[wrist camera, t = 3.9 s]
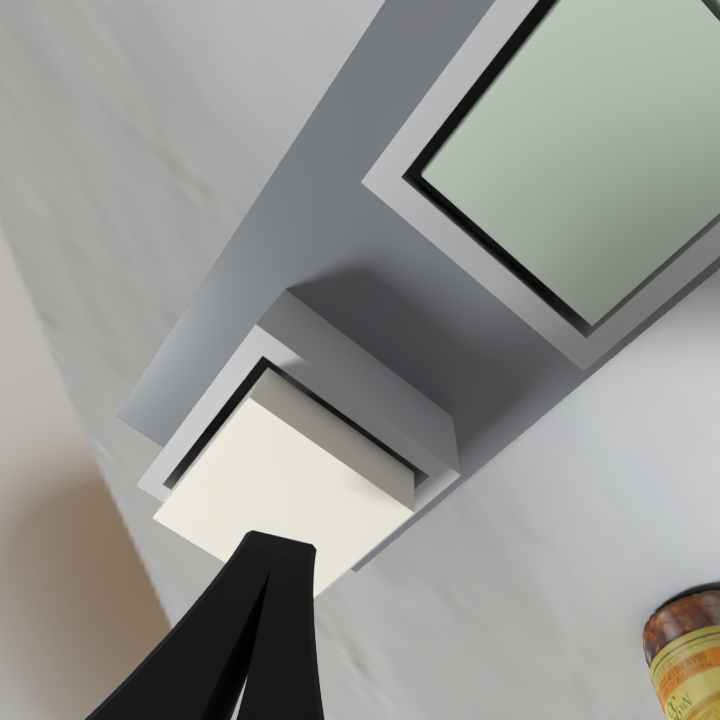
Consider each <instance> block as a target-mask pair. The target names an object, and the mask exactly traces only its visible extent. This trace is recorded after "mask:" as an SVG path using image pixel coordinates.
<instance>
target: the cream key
mask: <svg viewBox="0 0 720 720" xmlns="http://www.w3.org/2000/svg"><path fill="white" fill-rule="evenodd" d="M413 513H414V472H413V471H412V470H410V469H409V468H408V467H406V466H405V465H403V464H402V463H401V462H399V461H398V460H396V459H395V458H394V457H392V456H391V455H389V454H388V453H387V452H385V451H384V450H383V449H381V448H380V447H378V446H377V445H376V444H374V443H373V442H371V441H370V440H369V439H367V438H366V437H364V436H363V435H362V434H360V433H359V432H358V431H356V430H355V429H353V428H352V427H351V426H349V425H348V424H346V423H345V422H344V421H342V420H341V419H340V418H338V417H337V416H335V415H334V414H333V413H331V412H330V411H328V410H327V409H326V408H324V407H323V406H321V405H320V404H319V403H317V402H316V401H315V400H313V399H312V398H310V397H309V396H308V395H306V394H305V393H303V392H302V391H301V390H299V389H298V388H296V387H295V386H294V385H292V384H291V383H290V382H288V381H287V380H285V379H284V378H283V377H281V376H280V375H278V374H277V373H276V372H274V371H273V370H272V369H270V368H269V367H268V368H267V369H266V370H265V372H264V373H263V374H262V375H261V377H260V378H259V379H258V380H257V382H256V383H255V384H254V386H253V387H252V388H251V389H250V391H249V392H248V393H247V394H246V396H245V397H244V398H243V399H242V401H241V402H240V403H239V404H238V406H237V407H236V408H235V409H234V411H233V412H232V413H231V414H230V416H229V417H228V418H227V420H226V421H225V422H224V423H223V425H222V426H221V427H220V428H219V430H218V431H217V432H216V433H215V435H214V436H213V437H212V438H211V440H210V441H209V442H208V443H207V445H206V446H205V447H204V448H203V450H202V451H201V452H200V454H199V455H198V456H197V457H196V459H195V460H194V461H193V462H192V464H191V465H190V466H189V467H188V469H187V470H186V471H185V472H184V474H183V475H182V476H181V477H180V479H179V480H178V481H177V483H176V484H175V486H174V487H173V489H172V490H171V492H170V493H169V495H168V496H167V498H166V499H165V500H164V502H163V503H162V505H161V506H160V508H159V509H158V511H157V512H156V514H155V515H154V517H153V519H155V520H156V521H158V522H160V523H161V524H163V525H165V526H166V527H168V528H169V529H171V530H173V531H174V532H176V533H178V534H179V535H181V536H183V537H184V538H186V539H187V540H189V541H191V542H192V543H194V544H196V545H197V546H199V547H201V548H202V549H204V550H205V551H207V552H209V553H210V554H212V555H214V556H215V557H217V558H218V559H220V560H222V561H223V562H225V563H227V561H228V560H229V558H230V557H231V556H232V554H233V553H234V551H235V550H236V548H237V547H238V545H239V544H240V542H241V541H242V539H243V537H244V536H245V534H246V533H247V532H249V531H251V530H255V531H259V532H263V533H267V534H271V535H276V536H280V537H284V538H288V539H292V540H297V541H301V542H305V543H309V544H313V546H314V547H315V548H316V549H317V552H316V558H315V567H314V588H313V598H315V597H316V596H317V595H318V594H319V593H321V592H322V591H323V590H324V589H325V588H326V587H328V586H329V585H330V584H331V583H332V582H333V581H335V580H336V579H337V578H338V577H339V576H341V575H342V574H343V573H344V572H345V571H346V570H348V569H349V568H350V567H351V566H352V565H353V564H355V563H356V562H357V561H358V560H359V559H361V558H362V557H363V556H364V555H365V554H366V553H368V552H369V551H370V550H371V549H372V548H373V547H375V546H376V545H377V544H378V543H379V542H381V541H382V540H383V539H384V538H385V537H386V536H388V535H389V534H390V533H391V532H392V531H393V530H395V529H396V528H397V527H398V526H399V525H401V524H402V523H403V522H404V521H405V520H406V519H408V518H409V517H410V516H411V515H412V514H413Z"/></svg>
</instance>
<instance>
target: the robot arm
mask: <svg viewBox="0 0 720 720" xmlns="http://www.w3.org/2000/svg"><path fill="white" fill-rule="evenodd" d="M316 552H317V549H316V548H315V547H314V546H313V544H309V543H305V542H301V541H297V540H292V539H288V538H284V537H280V536H276V535H271V534H267V533H263V532H259V531H255V530H251V531H249V532H247V533H246V534H245V536H244V537H243V539H242V541H241V542H240V544H239V545H238V547H237V548H236V550H235V551H234V553H233V554H232V556H231V557H230V558H229V560H228V561H227V563H226V564H225V565H224V567H223V568H222V569H221V571H220V572H219V573H218V575H217V576H216V577H215V579H214V580H213V581H212V582H211V584H210V585H209V586H208V588H207V589H206V590H205V591H204V592H203V594H202V595H201V596H200V597H199V598H198V600H197V601H196V602H195V603H194V604H193V606H192V607H191V608H190V609H189V610H188V612H187V613H186V614H185V615H184V616H183V618H182V619H181V620H180V621H179V622H178V623H177V625H176V626H175V627H174V628H173V629H172V630H171V632H169V634H168V635H167V636H166V637H165V638H164V639H163V640H162V641H161V642H160V643H159V644H158V645H157V647H156V648H155V649H154V650H153V651H152V652H151V653H150V654H149V655H148V656H147V657H146V658H145V660H144V661H143V662H142V663H141V664H140V665H139V666H138V667H137V668H136V669H135V670H134V671H133V672H132V673H131V675H130V676H129V677H128V678H127V679H126V680H125V681H124V682H123V683H122V684H121V685H120V686H119V687H118V688H117V689H116V690H115V691H114V692H113V693H112V694H111V695H110V696H109V697H108V698H107V699H106V700H105V701H104V702H103V703H102V704H101V705H100V706H99V707H98V708H96V709H95V710H94V711H93V713H91V714H90V715H89V716H88V717H87V718H86V719H85V720H231V717H232V715H233V712H234V709H235V707H236V704H237V702H238V699H239V696H240V694H241V691H242V688H243V686H244V683H245V680H246V678H247V681H246V686H245V690H244V693H243V697H242V701H241V705H240V709H239V713H238V717H237V720H324V714H323V707H322V699H321V692H320V683H319V675H318V665H317V653H316V641H315V628H314V598H313V588H314V567H315V558H316ZM247 675H248V676H247Z"/></svg>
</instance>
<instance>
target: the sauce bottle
mask: <svg viewBox="0 0 720 720" xmlns="http://www.w3.org/2000/svg"><path fill="white" fill-rule="evenodd" d="M643 649H644V652H645V657H646V662H647V664H648V666H649V668H650V679H651V682H652V684H653V687H654V689H655V691H656V694H657V696H658V699H659V701H660V703H661V706H662V708H663V711H664V713H665V715H666V718H667V720H720V590H710V591H705V592H701V593H699V594H697V593H695V594H693V595H691V596H688V597H683V598H680V599H679V600H677V601H675V602H672V603H670V604H668V605H666V606H665V607H662V608H661V609H660V610H659V611H658V612H657V613H656V614H654V615H652V616H651V618H650V620H649V621H647V623H646V625H645V627H644V632H643Z"/></svg>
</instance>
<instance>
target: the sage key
mask: <svg viewBox="0 0 720 720" xmlns="http://www.w3.org/2000/svg"><path fill="white" fill-rule="evenodd" d="M421 175H422V177H423V178H424V179H426V180H427V181H428V182H429V183H430V184H431V185H432V186H434V187H435V188H436V189H437V190H438V191H439V192H440V193H441V194H443V195H444V196H445V197H446V198H447V199H448V200H449V201H451V202H452V203H453V204H454V205H455V206H456V207H457V208H459V209H460V210H461V211H462V212H463V213H464V214H465V215H467V216H468V217H469V218H470V219H471V220H472V221H473V222H474V223H476V224H477V225H478V226H479V227H480V228H481V229H482V230H484V231H485V232H486V233H487V234H488V235H489V236H490V237H492V238H493V239H494V240H495V241H496V242H497V243H498V244H499V245H501V246H502V247H503V248H504V249H505V250H506V251H507V252H509V253H510V254H511V255H512V256H513V257H514V258H515V259H517V260H518V261H519V262H520V263H521V264H522V265H523V266H524V267H526V268H527V269H528V270H529V271H530V272H531V273H532V274H534V275H535V276H536V277H537V278H538V279H539V280H540V281H542V282H543V283H544V284H545V285H546V286H547V287H548V288H549V289H551V290H552V291H553V292H554V293H555V294H556V295H557V296H559V297H560V298H561V299H562V300H563V301H564V302H565V303H567V304H568V305H569V306H570V307H571V308H572V309H573V310H574V311H576V312H577V313H578V314H579V315H580V316H581V317H582V318H584V319H585V320H586V321H587V322H588V323H589V324H590V325H592V326H593V325H594V324H595V323H596V322H597V321H599V320H600V319H601V318H602V317H603V316H604V315H605V314H606V313H608V312H609V311H610V310H611V309H612V308H613V307H614V306H615V305H617V304H618V303H619V302H620V301H621V300H622V299H623V298H625V297H626V296H627V295H628V294H629V293H630V292H631V291H632V290H634V289H635V288H636V287H637V286H638V285H639V284H640V283H641V282H643V281H644V280H645V279H646V278H647V277H648V276H649V275H650V274H652V273H653V272H654V271H655V270H656V269H657V268H658V267H660V266H661V265H662V264H663V263H664V262H665V261H666V260H667V259H669V258H670V257H671V256H672V255H673V254H674V253H675V252H676V251H678V250H679V249H680V248H681V247H682V246H683V245H684V244H685V243H687V242H688V241H689V240H690V239H691V238H692V237H693V236H694V235H696V234H697V233H698V232H699V231H700V230H701V229H702V228H704V227H705V226H706V225H707V224H708V223H709V222H710V221H711V220H713V219H714V218H715V217H716V216H717V215H718V214H719V213H720V21H719V20H718V19H717V18H716V17H715V16H714V14H713V13H712V12H711V11H710V10H709V9H708V8H707V6H706V5H705V4H704V3H703V2H702V1H701V0H555V2H554V3H553V4H552V5H551V7H550V8H549V9H548V10H547V12H546V13H545V14H544V15H543V17H542V18H541V19H540V20H539V22H538V23H537V24H536V26H535V27H534V28H533V29H532V31H531V32H530V33H529V34H528V36H527V37H526V38H525V39H524V41H523V42H522V43H521V44H520V46H519V47H518V48H517V50H516V51H515V52H514V53H513V55H512V56H511V57H510V58H509V60H508V61H507V62H506V63H505V65H504V66H503V67H502V69H501V70H500V71H499V72H498V74H497V75H496V76H495V77H494V79H493V80H492V81H491V82H490V84H489V85H488V86H487V87H486V89H485V90H484V91H483V93H482V94H481V95H480V96H479V98H478V99H477V100H476V101H475V103H474V104H473V105H472V106H471V108H470V109H469V110H468V112H467V113H466V114H465V115H464V117H463V118H462V119H461V120H460V122H459V123H458V124H457V125H456V127H455V128H454V129H453V130H452V132H451V133H450V134H449V136H448V137H447V138H446V139H445V141H444V142H443V143H442V144H441V146H440V147H439V148H438V149H437V151H436V152H435V153H434V154H433V156H432V157H431V158H430V160H429V161H428V162H427V163H426V165H425V166H424V167H423V168H422V170H421Z"/></svg>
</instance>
